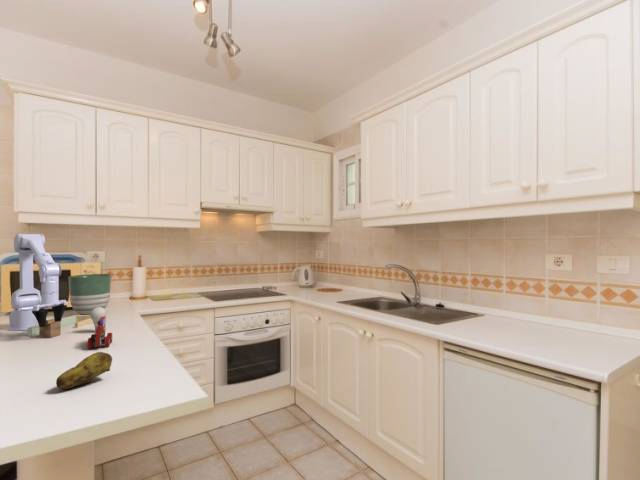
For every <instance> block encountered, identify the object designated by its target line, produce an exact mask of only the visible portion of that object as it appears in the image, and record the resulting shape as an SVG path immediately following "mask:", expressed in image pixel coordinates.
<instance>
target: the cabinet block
mask: <svg viewBox="0 0 640 480" xmlns="http://www.w3.org/2000/svg"><path fill="white" fill-rule="evenodd" d="M61 328H62V327H61V321H54V318H49V319H46V326H45V327H39V334H38V337H39V339H53V338H56V337H60V336H61V335H62V334H61V333H62V331H61Z"/></svg>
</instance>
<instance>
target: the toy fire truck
mask: <svg viewBox="0 0 640 480" xmlns="http://www.w3.org/2000/svg"><path fill="white" fill-rule="evenodd" d="M106 318H107V316H106V317H101V318H100V319H99V321H98V322H97V324H98V326H97V330H96V331H95V330H94V331H95V333H92V334H91V336H90V337H88V339H87V345H86V347H87V349H88V350H91V349H93V348H94V347H102V345H103V346H104V348H109V347H110V344H112V342H113V332H107V335H106V331H107V330H106V329H107V328H106V322H107V321H106V320H107V319H106Z"/></svg>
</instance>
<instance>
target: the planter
mask: <svg viewBox="0 0 640 480" xmlns="http://www.w3.org/2000/svg"><path fill="white" fill-rule="evenodd" d="M111 283H112V275H111V274H110V273H109V274H108V273H96V274H95V273H92V274H91V273H89V274H77V275H70V276H68V290H69V292H68V293H69V302H70V305H71V307H72V310H73V311H74V312H76V313H77V314H78V315H90V313H91V311H92V310H93V309H94V308H97V307H102V308H104V309H105V310H106V308H107V307H108V305H109V302H110V296H111V286H112V285H111Z"/></svg>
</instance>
